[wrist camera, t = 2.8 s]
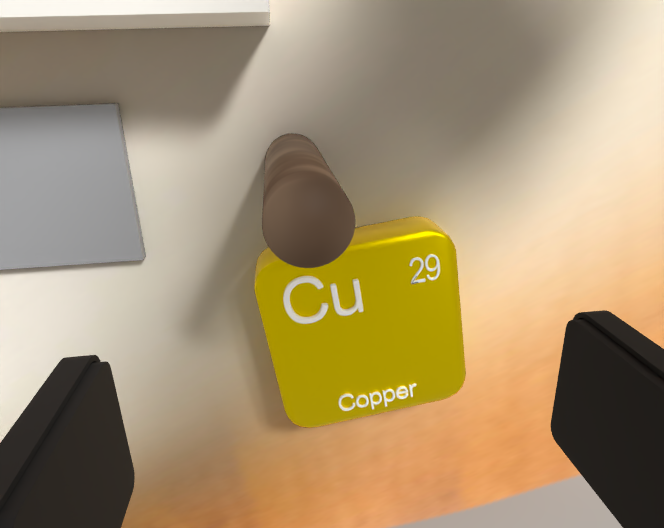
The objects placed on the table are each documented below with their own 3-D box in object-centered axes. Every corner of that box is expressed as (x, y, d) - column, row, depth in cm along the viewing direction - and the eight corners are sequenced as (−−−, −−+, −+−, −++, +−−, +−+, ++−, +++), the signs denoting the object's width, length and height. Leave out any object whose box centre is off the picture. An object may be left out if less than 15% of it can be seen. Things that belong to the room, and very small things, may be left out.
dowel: (319, 132, 35) (354, 176, 21) (321, 187, 37) (355, 264, 22) (263, 134, 35) (258, 181, 20) (267, 190, 36) (265, 271, 22)
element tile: (288, 402, 44) (290, 439, 40) (250, 246, 38) (247, 269, 34) (451, 367, 45) (471, 399, 40) (436, 209, 39) (457, 227, 35)
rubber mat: (118, 103, 33) (114, 104, 32) (145, 256, 37) (143, 259, 36) (-57, 109, 32) (-65, 110, 31) (-9, 266, 36) (-15, 270, 35)
